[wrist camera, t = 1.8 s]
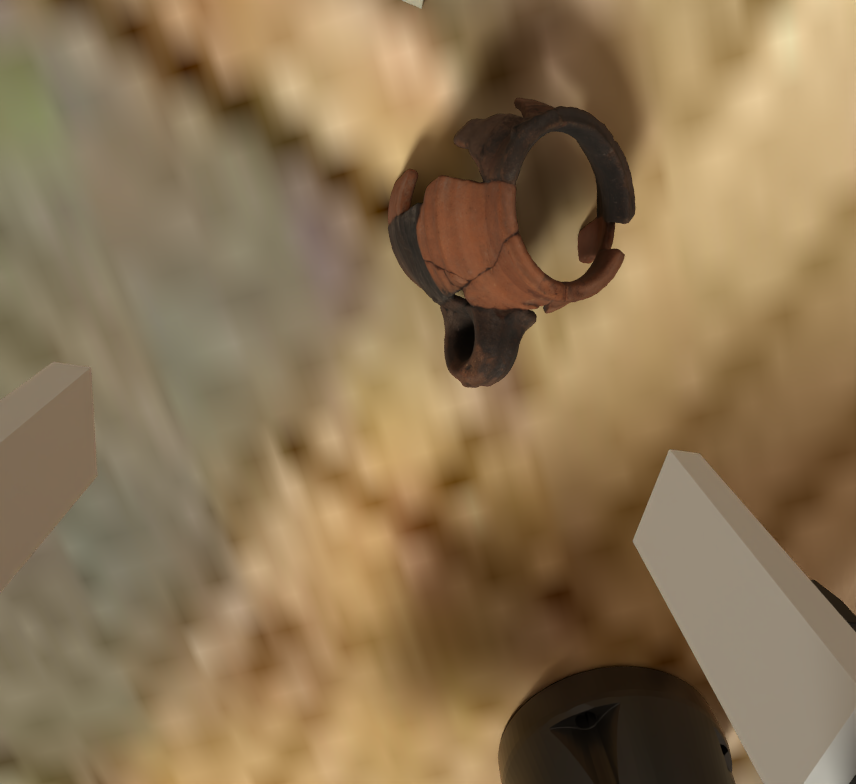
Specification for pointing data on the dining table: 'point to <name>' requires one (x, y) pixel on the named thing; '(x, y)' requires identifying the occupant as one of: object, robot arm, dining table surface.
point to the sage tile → (415, 2)
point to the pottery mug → (503, 237)
